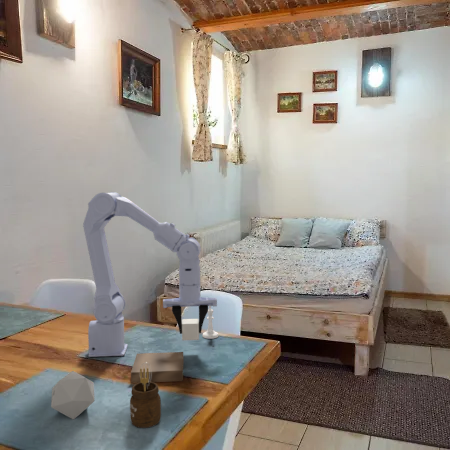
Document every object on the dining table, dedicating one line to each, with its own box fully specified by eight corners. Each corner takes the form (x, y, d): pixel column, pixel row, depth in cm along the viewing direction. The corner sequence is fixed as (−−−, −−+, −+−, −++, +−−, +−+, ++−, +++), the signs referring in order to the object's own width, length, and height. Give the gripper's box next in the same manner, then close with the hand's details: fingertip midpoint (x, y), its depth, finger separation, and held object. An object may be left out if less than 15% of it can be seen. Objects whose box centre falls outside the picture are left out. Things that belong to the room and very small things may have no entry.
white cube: (182, 340, 124) (181, 324, 123) (182, 334, 128) (182, 319, 128) (198, 339, 124) (198, 323, 124) (198, 334, 129) (198, 318, 128)
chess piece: (219, 333, 142) (219, 301, 141) (217, 339, 137) (217, 306, 136) (203, 333, 143) (203, 301, 142) (201, 338, 138) (200, 305, 137)
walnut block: (131, 384, 108) (130, 372, 107) (137, 364, 120) (136, 353, 119) (182, 382, 108) (182, 370, 108) (183, 363, 120) (183, 351, 120)
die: (68, 402, 99) (41, 377, 94) (103, 382, 100) (77, 355, 95) (68, 434, 92) (38, 408, 87) (105, 412, 93) (77, 385, 88)
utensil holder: (160, 412, 94) (159, 355, 93) (161, 428, 87) (160, 367, 86) (131, 414, 93) (129, 357, 92) (129, 431, 86) (128, 369, 85)
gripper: (161, 287, 120) (162, 338, 121) (217, 286, 121) (217, 336, 123) (163, 281, 127) (164, 329, 128) (215, 280, 128) (216, 327, 130)
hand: (190, 332), depth 126 cm, fingers closed on white cube, 4 cm apart
